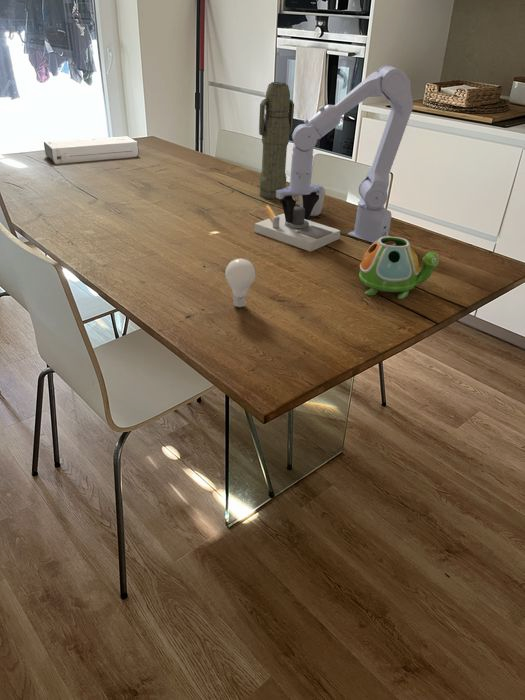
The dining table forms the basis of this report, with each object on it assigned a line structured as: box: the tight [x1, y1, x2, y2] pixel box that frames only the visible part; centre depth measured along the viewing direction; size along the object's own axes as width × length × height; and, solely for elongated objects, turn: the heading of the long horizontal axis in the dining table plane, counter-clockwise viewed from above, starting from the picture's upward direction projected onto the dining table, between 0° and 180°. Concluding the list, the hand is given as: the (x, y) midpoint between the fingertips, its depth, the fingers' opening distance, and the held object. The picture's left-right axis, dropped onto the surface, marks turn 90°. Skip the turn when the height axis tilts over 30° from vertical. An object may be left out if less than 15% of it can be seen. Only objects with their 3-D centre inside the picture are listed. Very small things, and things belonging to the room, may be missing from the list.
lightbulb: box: [224, 257, 256, 309], centre depth 119 cm, size 6×6×11 cm
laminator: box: [43, 135, 140, 165], centre depth 222 cm, size 34×12×6 cm, turn 122°
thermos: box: [258, 81, 295, 200], centre depth 183 cm, size 9×12×35 cm
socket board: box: [254, 213, 341, 252], centre depth 160 cm, size 20×14×3 cm
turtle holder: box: [358, 236, 440, 300], centre depth 131 cm, size 12×18×12 cm
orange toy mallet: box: [265, 204, 280, 228], centre depth 162 cm, size 2×13×3 cm, turn 12°
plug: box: [285, 206, 309, 230], centre depth 160 cm, size 7×7×7 cm
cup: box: [292, 187, 326, 217], centre depth 176 cm, size 11×8×8 cm
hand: (297, 220), depth 160 cm, fingers open, 5 cm apart
